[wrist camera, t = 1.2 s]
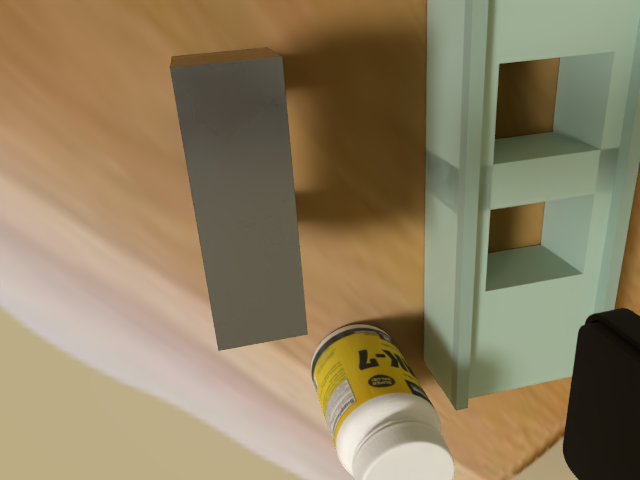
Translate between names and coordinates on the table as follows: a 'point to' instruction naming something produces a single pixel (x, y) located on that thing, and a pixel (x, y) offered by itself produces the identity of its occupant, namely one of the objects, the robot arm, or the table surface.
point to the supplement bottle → (378, 409)
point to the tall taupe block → (242, 192)
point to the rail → (525, 187)
